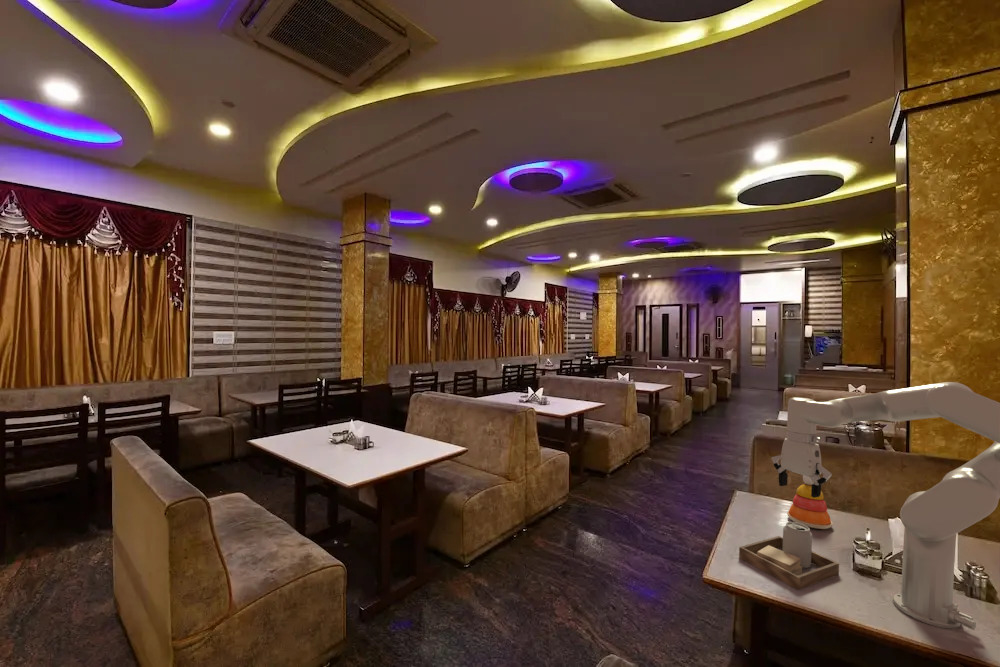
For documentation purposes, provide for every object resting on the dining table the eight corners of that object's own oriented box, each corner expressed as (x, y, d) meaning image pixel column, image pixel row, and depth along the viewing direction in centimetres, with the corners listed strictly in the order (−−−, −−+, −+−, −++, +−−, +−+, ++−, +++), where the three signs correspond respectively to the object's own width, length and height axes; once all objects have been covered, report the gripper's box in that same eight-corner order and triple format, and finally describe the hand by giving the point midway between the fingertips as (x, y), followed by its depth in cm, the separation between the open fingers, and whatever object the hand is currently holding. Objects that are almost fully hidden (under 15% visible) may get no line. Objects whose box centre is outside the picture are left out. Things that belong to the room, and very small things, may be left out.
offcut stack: (804, 574, 127) (805, 560, 127) (786, 581, 123) (786, 566, 123) (771, 557, 136) (771, 544, 136) (752, 563, 133) (753, 549, 133)
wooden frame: (838, 574, 128) (839, 563, 128) (798, 590, 119) (798, 577, 119) (778, 546, 144) (778, 535, 144) (739, 557, 136) (739, 546, 136)
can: (798, 571, 129) (799, 532, 129) (776, 558, 136) (777, 521, 136) (816, 568, 131) (818, 530, 131) (794, 555, 138) (795, 519, 138)
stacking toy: (837, 535, 153) (839, 482, 153) (790, 526, 160) (792, 475, 159) (827, 519, 166) (829, 470, 166) (784, 512, 172) (785, 464, 172)
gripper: (839, 443, 127) (836, 499, 127) (780, 429, 143) (778, 480, 143) (824, 445, 124) (822, 503, 124) (766, 431, 140) (764, 482, 140)
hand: (798, 490), depth 133 cm, fingers open, 9 cm apart
